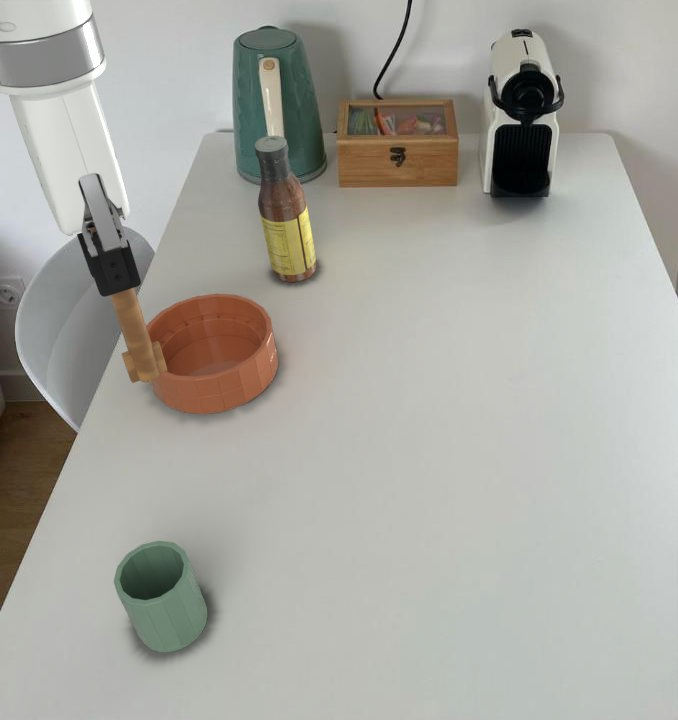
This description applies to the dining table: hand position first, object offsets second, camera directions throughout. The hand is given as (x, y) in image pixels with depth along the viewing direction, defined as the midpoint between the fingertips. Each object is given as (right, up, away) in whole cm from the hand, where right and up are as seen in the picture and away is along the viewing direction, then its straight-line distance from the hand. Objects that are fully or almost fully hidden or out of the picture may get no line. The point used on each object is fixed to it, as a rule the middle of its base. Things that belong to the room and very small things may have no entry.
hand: (116, 279), depth 64 cm
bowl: (0, -8, +34) cm, 35 cm away
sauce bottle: (+8, +6, +49) cm, 49 cm away
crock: (+2, -30, +10) cm, 32 cm away
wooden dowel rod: (0, -8, +7) cm, 11 cm away
